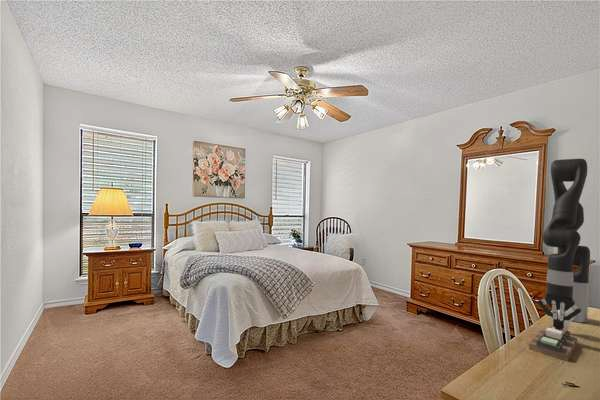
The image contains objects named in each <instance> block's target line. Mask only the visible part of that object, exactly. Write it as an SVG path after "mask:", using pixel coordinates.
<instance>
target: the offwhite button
mask: <svg viewBox="0 0 600 400" xmlns="http://www.w3.org/2000/svg"><path fill="white" fill-rule="evenodd" d="M549 327H550V326H549ZM549 327H547V328H545V330H546V336H549V337H552V338H556V339H560V340H561V338H562V337H563V331H560V330H556V329H553V328H549Z"/></svg>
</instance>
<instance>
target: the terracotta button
mask: <svg viewBox="0 0 600 400" xmlns="http://www.w3.org/2000/svg"><path fill="white" fill-rule="evenodd" d="M550 327H551V328H553V329H555V327H554V326H553V325H552V326H550ZM561 331H563V334H565V335H566V330H565V329H561Z"/></svg>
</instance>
